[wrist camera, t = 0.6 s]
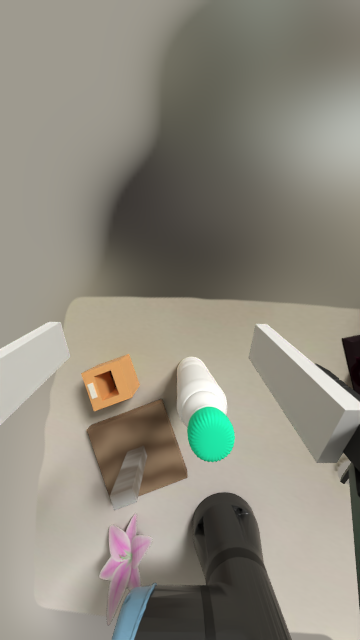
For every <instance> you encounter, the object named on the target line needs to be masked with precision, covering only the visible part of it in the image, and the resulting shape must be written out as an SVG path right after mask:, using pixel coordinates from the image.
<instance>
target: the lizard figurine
mask: <svg viewBox="0 0 360 640" xmlns="http://www.w3.org/2000/svg"><path fill="white" fill-rule="evenodd" d="M342 341H343V345H344V350H345V354H346V358H347V363H348V367H349V372H350V376H351V381H352V385H353V390H354V391H355V392H356V393H358V394H359V395H360V335H357V336H352V337H347V338H342Z"/></svg>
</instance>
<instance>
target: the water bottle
mask: <svg viewBox="0 0 360 640" xmlns="http://www.w3.org/2000/svg"><path fill="white" fill-rule="evenodd" d="M177 411H178V415H179V417H180V419H181V421H182V422H183V424H184V425H185V426H186V427H188V430H187V433H188V440H189V444H190V447H191V449H192V451H194V453H195V454H196V455H197V457H199V458H200V459H201V460H204V461H208V462H210V461H211V462H214V461H216V462H217V461H218V460H219V461H220V460H221V459H224V458H225V457H227V455H228V454H230V451H232V448H233V446H234V439H235V436H234V430H233V426H232V424H231V422H230V420H229V419H228V417H227V416H226V413H227V401H226V397H225V395H224V393H223V391H222V389H221V388H220V387H219V386H218V384H217V383H216V381H215V379H214V378H213V376H212V375H211V374H210V373H209V371H208V369H207V368H206V366H205V365H204V363H203V362H202V361H201V360H200V359H198V358H196V357H187V358H185V359H183V360H182V361H181V362H180V363H179V365H178V368H177Z"/></svg>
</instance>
